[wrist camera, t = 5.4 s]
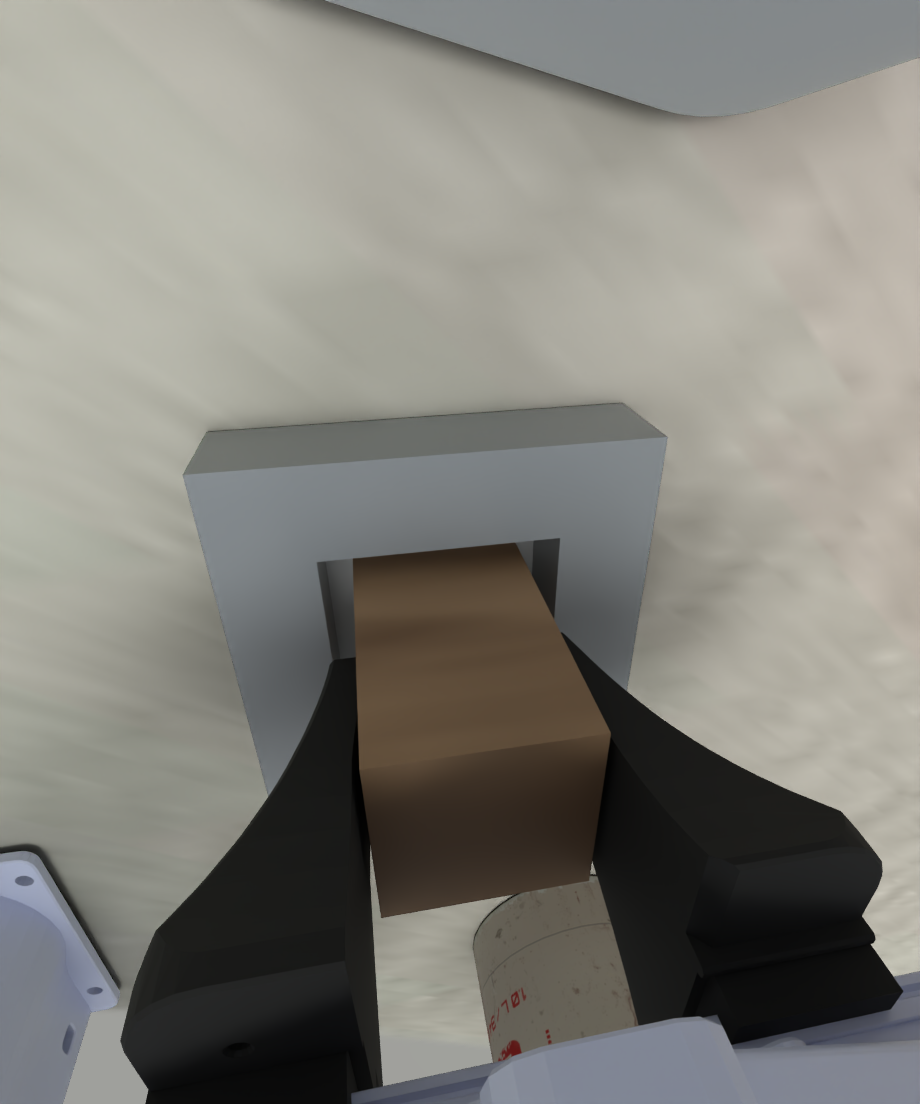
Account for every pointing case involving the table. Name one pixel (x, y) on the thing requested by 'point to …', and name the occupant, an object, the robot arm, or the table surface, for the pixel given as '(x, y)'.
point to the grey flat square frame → (415, 533)
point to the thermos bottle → (551, 970)
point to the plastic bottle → (678, 44)
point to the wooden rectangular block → (471, 731)
